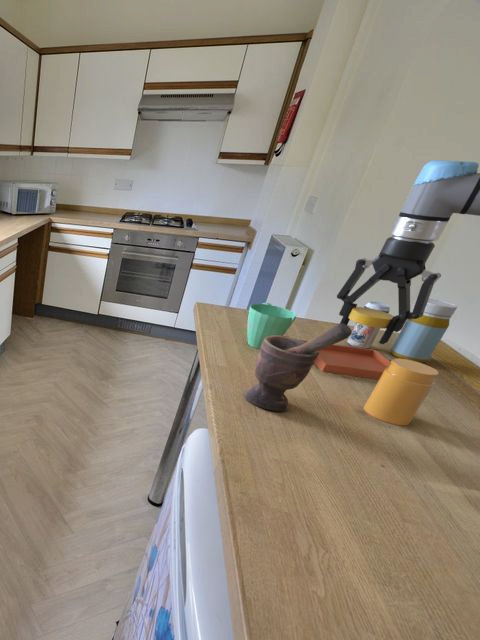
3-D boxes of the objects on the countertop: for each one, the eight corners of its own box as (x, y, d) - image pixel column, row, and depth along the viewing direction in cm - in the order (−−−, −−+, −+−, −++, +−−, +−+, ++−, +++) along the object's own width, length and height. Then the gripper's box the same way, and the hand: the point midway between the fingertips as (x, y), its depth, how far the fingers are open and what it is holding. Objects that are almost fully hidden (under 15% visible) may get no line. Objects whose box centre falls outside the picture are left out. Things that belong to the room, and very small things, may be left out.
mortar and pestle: (315, 412, 80) (362, 318, 72) (302, 428, 75) (352, 330, 66) (250, 386, 88) (285, 299, 79) (234, 400, 83) (271, 308, 74)
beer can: (341, 341, 113) (362, 300, 108) (357, 341, 113) (377, 301, 108) (358, 349, 108) (380, 307, 103) (374, 349, 109) (396, 307, 104)
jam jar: (395, 408, 83) (423, 361, 78) (418, 428, 77) (451, 378, 72) (356, 402, 84) (381, 355, 80) (376, 421, 78) (405, 371, 74)
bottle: (389, 357, 105) (419, 302, 99) (389, 348, 110) (418, 296, 103) (427, 366, 101) (461, 310, 95) (425, 357, 106) (458, 303, 99)
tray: (371, 356, 105) (375, 349, 104) (409, 384, 93) (414, 376, 92) (295, 346, 109) (298, 339, 108) (322, 371, 96) (325, 364, 95)
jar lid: (342, 318, 97) (346, 309, 96) (355, 313, 100) (359, 305, 99) (382, 330, 91) (387, 321, 90) (395, 325, 95) (400, 316, 94)
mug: (284, 357, 102) (300, 321, 97) (239, 348, 106) (252, 312, 101) (274, 336, 114) (288, 303, 109) (234, 329, 118) (246, 296, 113)
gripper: (346, 231, 93) (305, 322, 103) (475, 251, 78) (412, 357, 88) (360, 229, 97) (319, 318, 107) (486, 248, 81) (424, 350, 91)
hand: (361, 335), depth 97 cm, fingers closed on jar lid, 7 cm apart
